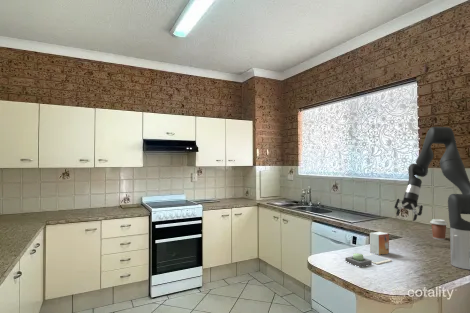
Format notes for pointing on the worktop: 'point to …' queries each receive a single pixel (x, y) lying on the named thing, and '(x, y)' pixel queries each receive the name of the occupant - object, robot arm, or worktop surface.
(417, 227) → the worktop surface
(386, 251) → the small box
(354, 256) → the button
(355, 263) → the button housing
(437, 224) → the coffee cup
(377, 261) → the paper pad
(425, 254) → the worktop surface
